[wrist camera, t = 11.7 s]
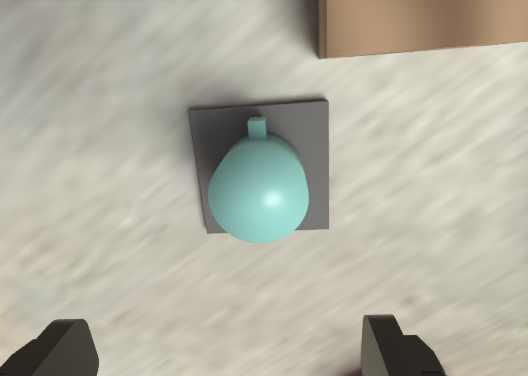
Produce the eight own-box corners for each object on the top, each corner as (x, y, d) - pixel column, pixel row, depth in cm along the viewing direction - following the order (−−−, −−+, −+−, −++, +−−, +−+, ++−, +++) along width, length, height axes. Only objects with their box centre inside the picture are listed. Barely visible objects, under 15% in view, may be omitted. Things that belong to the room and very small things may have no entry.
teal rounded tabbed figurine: (215, 118, 21) (198, 132, 16) (302, 113, 20) (307, 125, 16) (228, 225, 23) (216, 260, 19) (305, 222, 23) (310, 257, 19)
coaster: (209, 229, 24) (207, 233, 24) (190, 110, 21) (188, 111, 21) (327, 225, 24) (328, 229, 23) (327, 100, 20) (328, 101, 20)
